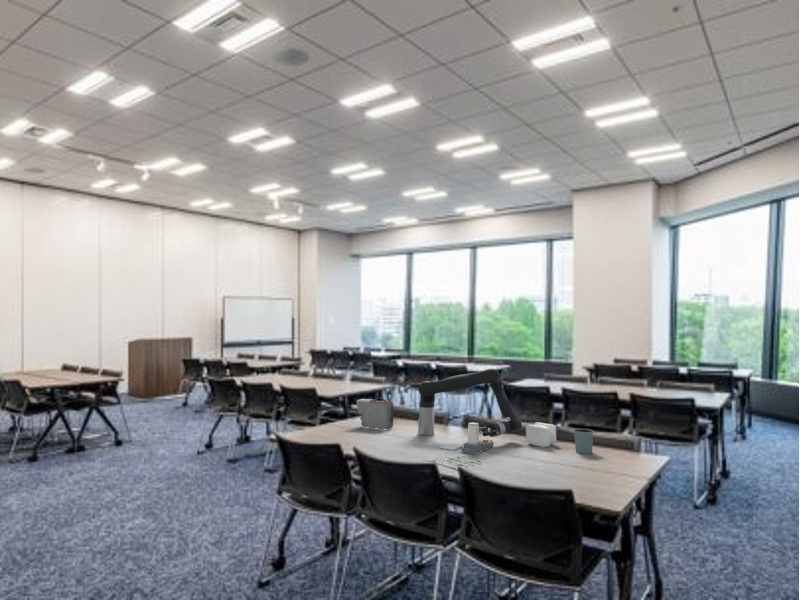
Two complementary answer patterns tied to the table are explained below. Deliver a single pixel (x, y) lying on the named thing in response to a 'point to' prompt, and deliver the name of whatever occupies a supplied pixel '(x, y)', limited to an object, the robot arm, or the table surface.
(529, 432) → the cable organizer
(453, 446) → the mat
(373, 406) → the grey boxy piece
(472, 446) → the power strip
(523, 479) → the table surface
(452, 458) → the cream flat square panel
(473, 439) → the block
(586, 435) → the teal cup
